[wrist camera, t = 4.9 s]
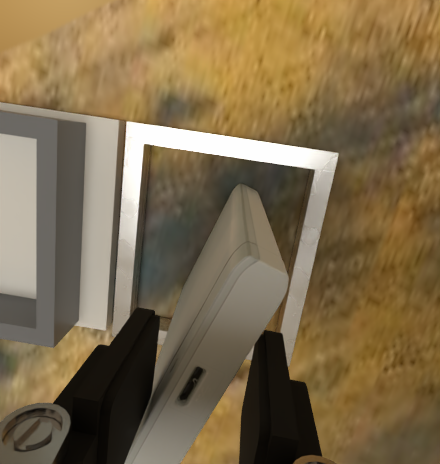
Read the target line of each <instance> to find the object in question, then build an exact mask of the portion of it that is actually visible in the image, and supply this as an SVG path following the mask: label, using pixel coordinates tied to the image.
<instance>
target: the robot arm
mask: <svg viewBox="0 0 440 464" xmlns="http://www.w3.org/2000/svg"><path fill="white" fill-rule="evenodd" d="M159 326H160V316H156V315H155V311H154V310H149V309H144V308H138V307H137V308H136V309H135V310H134V311H133V313H132V314H131V316H130V317H129V319H128V320H127V321H126V323H125V324H124V326H123V327H122V328H121V330H120V331H119V333H118V334H117V335H116V337H115V338H114V340H113V341H112V342H111V344H110V345H109V346H106V345H98V346H97V347H96V348H95V349H94V351H93V352H92V353H91V355H90V356H89V357H88V359H87V360H86V361H85V362H84V364H83V365H82V366H81V368H80V369H79V370H78V372H77V373H76V374H75V375H74V377H73V378H72V379H71V381H70V382H69V383H68V385H67V386H66V387H65V388H64V390H63V391H62V392H61V394H60V395H59V396H58V398H57V399H56V400H55V401H54V403H53V404H52V403H36V404H32V405H27V406H25V407H22V408H20V409H17V410H16V411H14V412H12V413H11V414H9V415H8V416H6V417H5V418H4V419H3V420H2V421H1V422H0V464H124V463H125V461H126V458H127V456H128V453H129V451H130V448H131V446H132V443H133V441H134V438H135V436H136V433H137V431H138V428H139V426H140V423H141V421H142V418H143V416H144V413H145V411H146V408H147V406H148V403H149V401H150V398H151V394H152V388H153V380H154V371H155V362H156V353H157V344H158V335H159ZM239 464H336V463H335V462H333V461H332V460H329V459H327V458H324V457H322V453H321V449H320V444H319V440H318V435H317V431H316V426H315V422H314V417H313V412H312V408H311V403H310V399H309V394H308V390H307V386H306V384H305V383H304V382H300V381H295V380H290V378H289V371H288V365H287V358H286V352H285V345H284V339H283V334H282V333H278V332H272V331H267V330H264V333H263V335H262V334H261V335H260V337H259V339H258V340H257V342H256V343H255V345H254V350H253V355H252V361H251V366H250V371H249V376H248V381H247V386H246V391H245V396H244V402H243V407H242V415H241V433H240V456H239Z"/></svg>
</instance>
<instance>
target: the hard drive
mask: <svg viewBox="0 0 440 464" xmlns="http://www.w3.org/2000/svg"><path fill="white" fill-rule="evenodd" d="M288 281H289V277H288V273H287V271H286V268H285V265H284V262H283V260H282V258H281V255H280V252H279V249H278V246H277V243H276V241H275V238H274V235H273V232H272V229H271V227H270V224H269V221H268V219H267V216H266V213H265V210H264V208H263V205H262V202H261V199H260V196H259V194H258V192H257V191H256V190H254V189H252V188H250V187H248V186H246V185H244V184H242V183H241V184H238V185H237V186H236V187H235V188H234V189H233V191H232V193H231V195H230V197H229V199H228V200H227V202H226V204H225V206H224V208H223V210H222V212H221V214H220V216H219V218H218V220H217V222H216V224H215V226H214V228H213V230H212V232H211V233H210V235H209V237H208V239H207V241H206V243H205V245H204V247H203V249H202V251H201V253H200V255H199V257H198V259H197V261H196V263H195V265H194V267H193V269H192V271H191V273H190V274H189V276H188V278H187V280H186V282H185V284H184V286H183V288H182V292H181V294H180V297H179V300H178V303H177V306H176V309H175V312H174V314H173V317H172V320H171V323H170V326H169V329H168V332H167V335H166V338H165V340H164V343H163V346H162V349H161V352H160V355H159V357H158V360H157V363H156V366H155V371H154V380H153V388H152V394H151V398H150V401H149V403H148V406H147V408H146V411H145V413H144V416H143V418H142V421H141V423H140V426H139V428H138V431H137V433H136V436H135V438H134V441H133V443H132V446H131V448H130V451H129V453H128V456H127V458H126V461H125V463H124V464H180V463H181V461H182V460H183V458H184V457H185V455H186V453H187V452H188V450H189V448H190V447H191V445H192V444H193V442H194V441H195V439H196V437H197V436H198V434H199V433H200V431H201V429H202V428H203V426H204V425H205V423H206V421H207V420H208V418H209V417H210V415H211V413H212V411H213V410H214V408H215V407H216V405H217V403H218V402H219V400H220V399H221V397H222V395H223V394H224V392H225V391H226V389H227V387H228V386H229V384H230V383H231V381H232V380H233V378H234V376H235V375H236V373H237V372H238V370H239V368H240V367H241V365H242V363H243V361H244V360H245V359H246V357H247V356H248V354H249V353H250V351H251V349H252V348H253V346H254V344H255V343H256V342H257V340H258V339H259V337H260V335H261V334H262V332H263V331H264V329H265V328H266V326H267V324H268V323H269V321H270V319H271V318H272V316H273V315H274V313H275V312H276V310H277V309H278V307H279V305H280V304H281V302H282V300H283V298H284V296H285V294H286V292H287V288H288Z"/></svg>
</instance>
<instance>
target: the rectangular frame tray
mask: <svg viewBox="0 0 440 464" xmlns="http://www.w3.org/2000/svg"><path fill="white" fill-rule="evenodd" d="M151 145H157V146H163V147H170V148H177V149H183V150H190V151H196V152H203V153H209V154H216V155H223V156H229V157H236V158H242V159H249V160H255V161H262V162H269V163H275V164H282V165H288V166H295V167H301V168H308V169H310V171H309V176H308V181H307V185H306V190H305V195H304V200H303V204H302V209H301V214H300V218H299V223H298V228H297V233H296V237H295V242H294V247H293V251H292V256H291V261H290V265H289V270H288V277H289V281H288V288H287V292H286V294H285V296H284V298H283V300H282V303H281V308H280V313H279V317H278V322H277V327H276V331H275V332H278V333H282V334H283V339H284V345H285V352H286V358H287V365H288V366H290V362H291V358H292V353H293V349H294V345H295V340H296V336H297V332H298V327H299V323H300V319H301V315H302V310H303V306H304V302H305V297H306V293H307V289H308V284H309V280H310V276H311V271H312V267H313V263H314V259H315V254H316V250H317V246H318V241H319V237H320V233H321V228H322V224H323V220H324V215H325V211H326V207H327V203H328V198H329V194H330V190H331V185H332V181H333V177H334V172H335V168H336V164H337V159H338V155H339V153H335V152H328V151H321V150H315V149H308V148H301V147H295V146H288V145H281V144H275V143H268V142H261V141H255V140H248V139H242V138H235V137H228V136H222V135H215V134H208V133H202V132H195V131H188V130H182V129H175V128H168V127H162V126H155V125H148V124H142V123H135V122H128V121H127V126H126V141H125V155H124V170H123V185H122V199H121V214H120V229H119V243H118V258H117V272H116V287H115V302H114V316H113V331H112V336H113V337H116V335H117V334H118V333H119V331H120V330H121V328H122V327H123V326H124V324H125V323H126V321H127V320H128V319H129V317H130V316H131V314H132V313H133V311H134V310H135V309H136V308H137V299H138V288H139V277H140V265H141V254H142V242H143V231H144V220H145V208H146V197H147V186H148V174H149V163H150V151H151ZM171 320H172V319H168V318H162V317H160V326H159V335H158V344H159V345H163V343H164V340H165V338H166V335H167V332H168V329H169V326H170V323H171ZM262 335H263V334H262ZM254 345H255V344H254ZM253 350H254V346H253V348H252V349H251V351H250V353H249V354H248V356H247V357H246V359H248V360H252V355H253Z"/></svg>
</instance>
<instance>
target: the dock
mask: <svg viewBox="0 0 440 464" xmlns="http://www.w3.org/2000/svg"><path fill="white" fill-rule="evenodd" d="M124 132H125V121H122V120H115V119H108V118H102V117H95V116H89V115H82V114H75V113H69V112H62V111H55V110H49V109H42V108H35V107H29V106H22V105H15V104H9V103H2V102H0V339H6V340H12V341H18V342H24V343H29V344H35V345H41V346H47V347H53V348H54V347H55V346H56V345H57V344H58V343H59V341H60V340H61V339H62V338H63V337H64V336H65V335H66V334H67V333H68V332H69V331H70V329H71V328H72V327H73V326H74V325H76V326H82V327H88V328H94V329H100V330H105V331H106V330H107V328H108V327H109V326H110V324H111V323H112V311H113V296H114V281H115V266H116V251H117V236H118V221H119V206H120V192H121V177H122V162H123V147H124Z"/></svg>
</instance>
